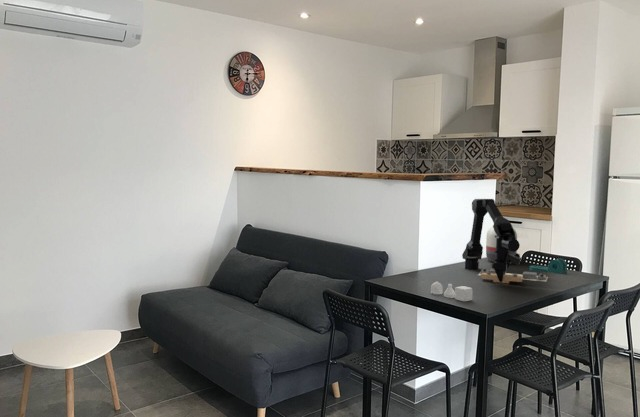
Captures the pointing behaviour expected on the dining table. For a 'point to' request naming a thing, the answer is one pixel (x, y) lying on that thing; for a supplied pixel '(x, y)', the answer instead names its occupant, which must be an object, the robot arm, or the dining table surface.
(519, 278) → the master link
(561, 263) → the teal handled piece
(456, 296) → the container set
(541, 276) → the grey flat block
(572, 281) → the dining table surface
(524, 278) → the board
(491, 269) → the lower chain end
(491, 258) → the vase
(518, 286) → the dining table surface
